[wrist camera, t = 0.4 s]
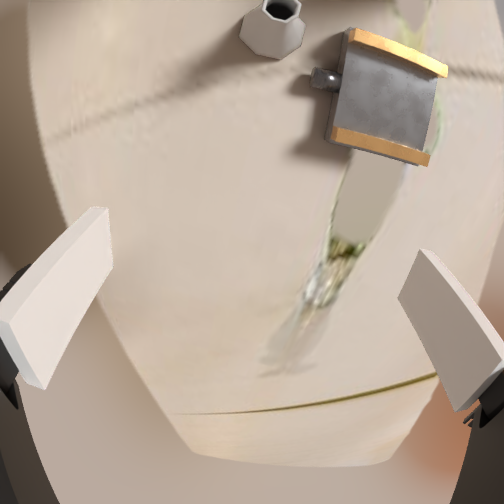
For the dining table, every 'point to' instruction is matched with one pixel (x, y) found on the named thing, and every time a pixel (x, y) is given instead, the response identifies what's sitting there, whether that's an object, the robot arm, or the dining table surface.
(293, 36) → the flask
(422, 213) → the dining table surface
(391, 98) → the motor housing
